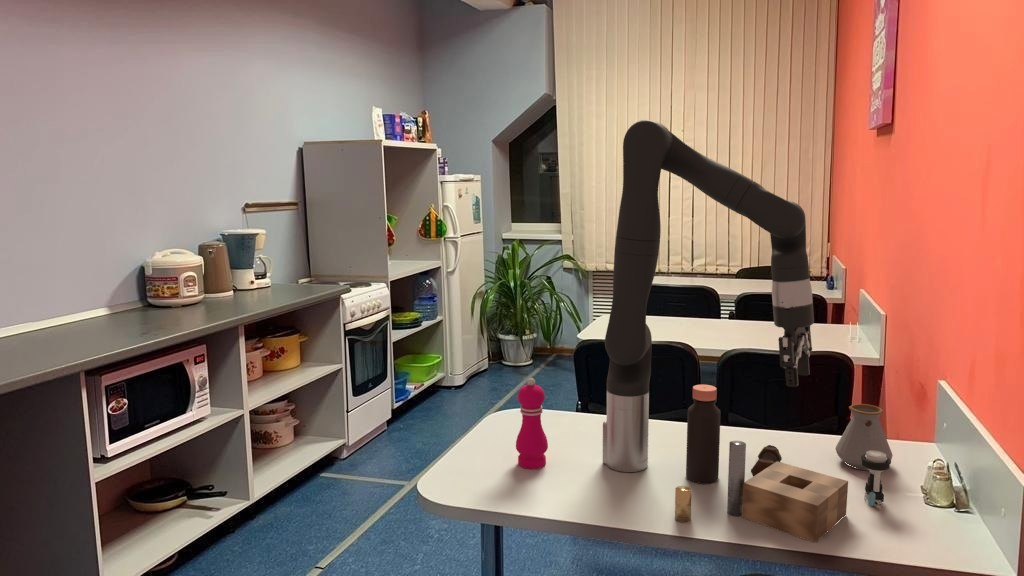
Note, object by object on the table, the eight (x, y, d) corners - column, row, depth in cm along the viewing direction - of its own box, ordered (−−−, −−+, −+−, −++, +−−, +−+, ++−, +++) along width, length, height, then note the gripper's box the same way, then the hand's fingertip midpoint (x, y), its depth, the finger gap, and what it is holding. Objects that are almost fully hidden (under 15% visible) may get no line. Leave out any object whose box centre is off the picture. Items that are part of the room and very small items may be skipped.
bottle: (724, 477, 161) (727, 387, 158) (708, 487, 156) (711, 394, 153) (695, 468, 165) (698, 381, 162) (679, 478, 160) (682, 388, 157)
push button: (894, 511, 144) (897, 462, 142) (864, 510, 145) (867, 461, 143) (883, 496, 151) (886, 449, 149) (854, 495, 151) (857, 448, 150)
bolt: (774, 467, 170) (767, 491, 157) (754, 454, 172) (746, 476, 158) (789, 447, 169) (783, 470, 155) (769, 434, 170) (761, 455, 156)
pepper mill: (531, 473, 164) (530, 384, 161) (509, 463, 170) (508, 378, 166) (554, 464, 169) (554, 378, 166) (532, 455, 174) (532, 371, 171)
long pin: (724, 512, 145) (726, 443, 142) (731, 507, 147) (734, 439, 144) (738, 517, 143) (741, 447, 140) (746, 512, 145) (748, 443, 142)
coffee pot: (835, 451, 174) (838, 388, 172) (890, 458, 170) (894, 394, 167) (833, 487, 155) (837, 418, 153) (895, 496, 151) (901, 425, 148)
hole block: (742, 517, 143) (743, 482, 141) (775, 494, 152) (777, 461, 151) (815, 542, 133) (817, 505, 132) (846, 515, 143) (848, 481, 142)
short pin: (671, 519, 142) (672, 489, 141) (680, 513, 145) (680, 484, 144) (685, 524, 140) (686, 494, 139) (694, 518, 142) (694, 488, 141)
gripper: (783, 295, 158) (789, 371, 160) (762, 308, 146) (768, 389, 148) (821, 295, 153) (826, 372, 155) (802, 308, 142) (808, 391, 144)
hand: (798, 380), depth 152 cm, fingers open, 8 cm apart
